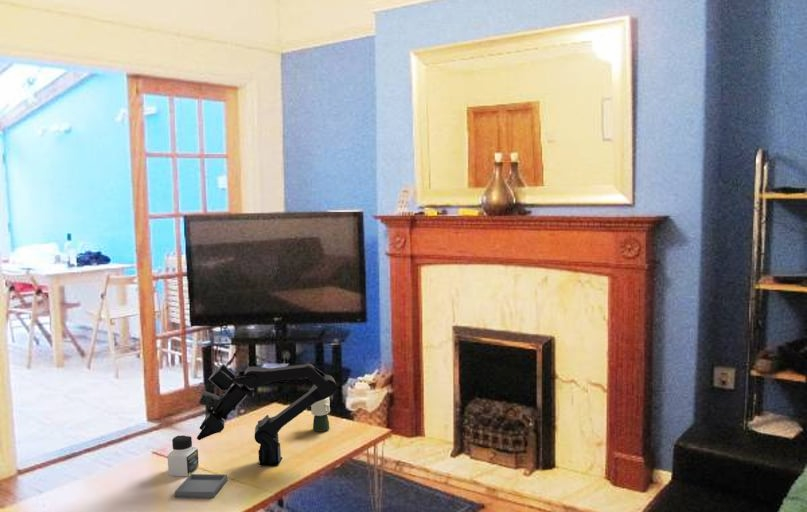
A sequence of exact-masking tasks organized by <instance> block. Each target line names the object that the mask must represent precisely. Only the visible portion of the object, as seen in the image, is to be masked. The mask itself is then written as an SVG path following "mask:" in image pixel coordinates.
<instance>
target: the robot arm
mask: <svg viewBox="0 0 807 512" xmlns="http://www.w3.org/2000/svg"><path fill="white" fill-rule="evenodd" d="M303 378H307V379H308V380H309V381H310V382H311V383H312V386H311V388H310V389H309V391H307V392H306V393H305V394H302V395H301V397H299V398H298V399H297V400H295V401H294V402H292V403H291V404H290V405H288V406H287V407H286V408H284V409H283V410H282V411H280V412H279V413H277V414H276V415H274V416H271V417H270V416H269V414H266V415H265V417H263V418H262V419H260V420H258V421H257V424H256V425H255V427H254V435H253V436H254V440H255V442H256V443H257V444H259V449H258V452H257V453H258V462H259V464H258V466H259V467H278V466H279V465H280V463H281V462H282V460H283V457H282V454H281V453H282V451H281V442H279V432H280V430H282V428H283V427H285V425H287V424H289V422H292V421H293V420H294V419H295V418H296V417H298V416H299V415H300V414H302V413H303V412H304V411H306V410H307V409H308V408H310V407H311V405H313V404H314V403H315V402H318V401H321V400H324V399H326V398H328V397H329V398H330V397H331V396H334V394H335V393H336V391H337V389H338V388H337V383H336V381H335V378H334V377H333V376H332V375H330V374H326V373H324V372H323V371H321V370H319V368H316V367H315V365H313V364H311V363H309V362H307V363H303V364H296V365H287V366H281V367H264V366H249V367H247V368H246V369H245V370H240V371H236V372H235V373H234V372H233V371H232V370H231V369H230V368H228V366H227V365H226V364H224V363H223V364H222V365H221V366H219V367H218V368H216V369H215V370H214V372H212V373H211V375H210V376H209V378H208V381H210V382H211V383H212V384H213V385H214V386H216V387H217V389H219V390H221V391H225V390H226V392H225V393H221V394H220V395H217V394H215V393H212V392H210V391H207V390H203V391H202V393H201V396H200V398H199V401H198V404H200V405H203V406H206V407H207V415H206V416H205V418H204V420H203V421H202V423H201V425H200V426H199V430H200V431H199V434H198V435H197V437H196V439H197V440H198V441H200V440H203V439H205V438H207V437H210V436H212V435H216V434H219V433H221V432H222V431H223V430H224V429H225V426H226V425H225V421H226V420H227V419H228V417H229V415H230V414H231V413H232V412H235V411H236V410H237V407H238V406H239V405H240V404H241V402H242V401H243V400H244V399H246V397H247V396H248V397H249V398H251V399H253V398H254V390H255V388H258V387H261V386H265V385H266V384H269V383H271V382H279V381H286V380H296V379H303Z"/></svg>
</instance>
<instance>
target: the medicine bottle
mask: <svg viewBox="0 0 807 512" xmlns="http://www.w3.org/2000/svg"><path fill="white" fill-rule="evenodd" d="M192 439H193V438H192V436H191V435H189V434H179V435H177V436H174V437H173V438H172V440H171V441H172V451H170V453H168V454H167V468H168V469H167V471H168V476H172V477H186V478H188V477H189V476H190V474H194V473H195V472H196V471H197V470H199V467H200V464H199V450H198V447H193V441H192Z"/></svg>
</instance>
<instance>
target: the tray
mask: <svg viewBox="0 0 807 512" xmlns="http://www.w3.org/2000/svg"><path fill="white" fill-rule="evenodd" d="M227 482H228V474H218V473H217V474H216V473H215V474H214V473H213V474H212V473H211V474H210V473H209V474H207V473H206V474H205V473H192V474H190V476H188V477H186V479H185V480H184V481H182V483H180V484H179V486H178V487H177V488H176V489H175V491H174V498H175V499H176V498H177V499H179V498H180V499H214V498H216V496H217V495H218V494H219V492H220V491H221V490H222V488H223V487H224V486H225V485H226V483H227Z"/></svg>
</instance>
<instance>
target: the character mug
mask: <svg viewBox="0 0 807 512" xmlns="http://www.w3.org/2000/svg"><path fill="white" fill-rule="evenodd" d="M330 403H331V400H330V397H328V398H326V399H324V400H321V401H318V402H315V403H314V404H313V405H311V406H310V407H311V408H310V410H311V415H312V416H313V423H312V430H313V431H315V432H324V431H327V430H329V429H330V422H329V421H330V420H329V416H328V414H329V413H330V412H331V407H330Z"/></svg>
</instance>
